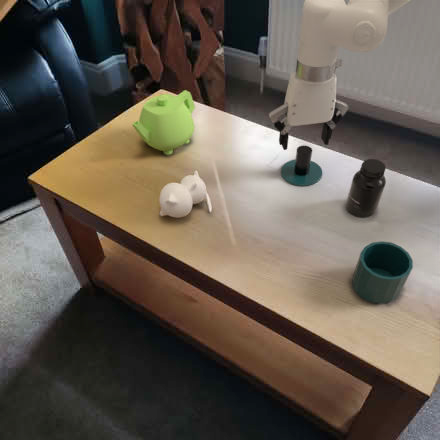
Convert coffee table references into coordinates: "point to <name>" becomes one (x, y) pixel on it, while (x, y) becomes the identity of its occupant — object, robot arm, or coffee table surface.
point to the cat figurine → (183, 196)
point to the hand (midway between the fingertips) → (304, 143)
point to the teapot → (166, 121)
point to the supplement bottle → (366, 189)
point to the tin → (381, 272)
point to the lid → (302, 168)
